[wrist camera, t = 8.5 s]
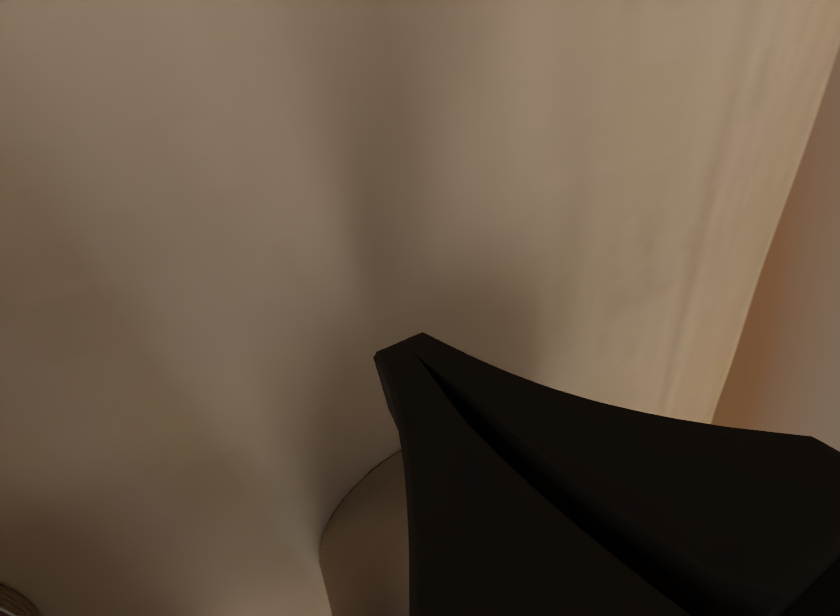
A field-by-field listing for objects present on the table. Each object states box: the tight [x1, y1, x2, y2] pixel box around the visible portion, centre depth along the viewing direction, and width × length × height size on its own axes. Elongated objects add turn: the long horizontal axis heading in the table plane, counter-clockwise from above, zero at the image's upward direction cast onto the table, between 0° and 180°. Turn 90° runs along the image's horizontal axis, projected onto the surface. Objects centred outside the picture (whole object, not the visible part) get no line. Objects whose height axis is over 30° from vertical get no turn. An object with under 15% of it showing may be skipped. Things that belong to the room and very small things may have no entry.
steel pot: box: [320, 450, 409, 616], centre depth 14 cm, size 9×9×5 cm
